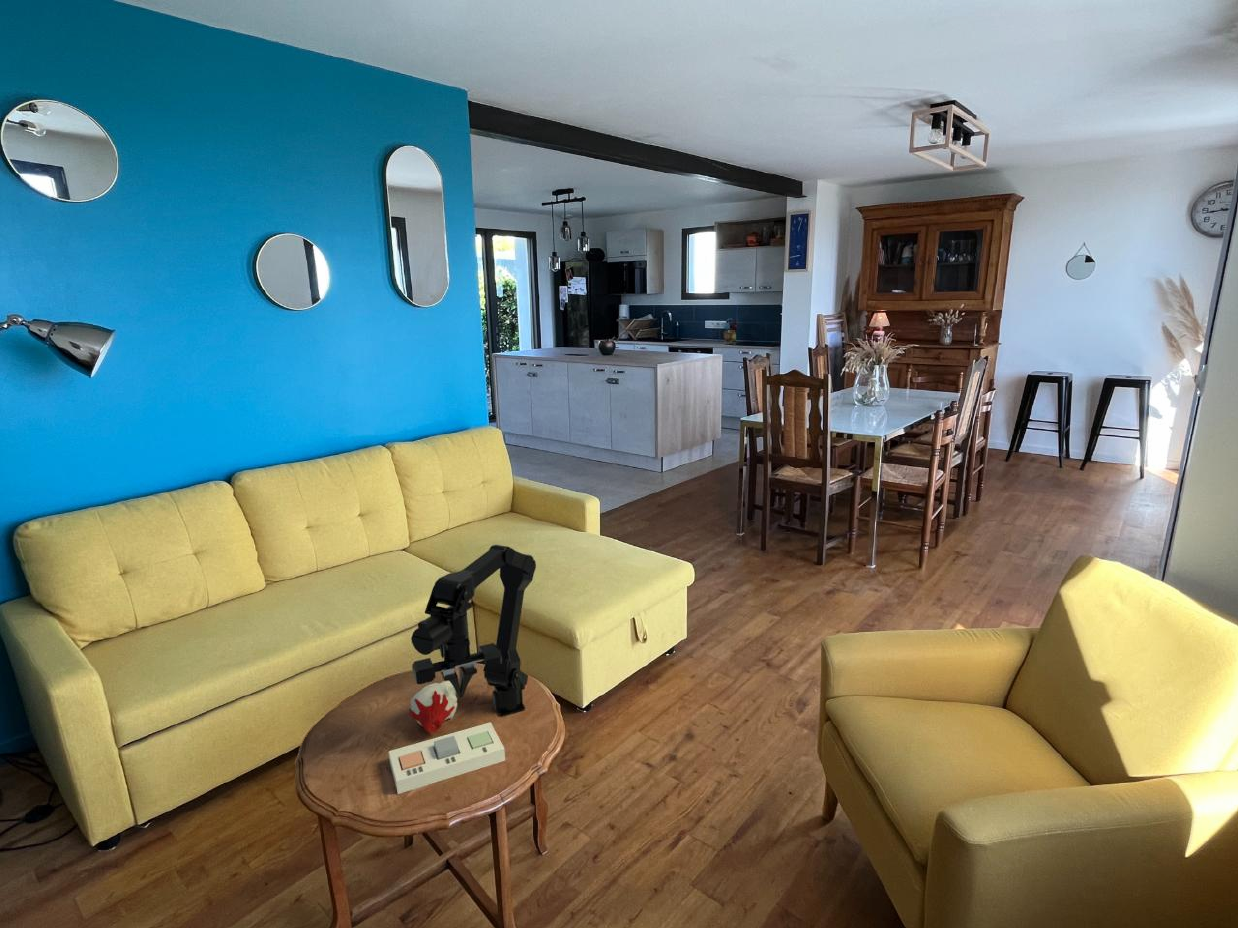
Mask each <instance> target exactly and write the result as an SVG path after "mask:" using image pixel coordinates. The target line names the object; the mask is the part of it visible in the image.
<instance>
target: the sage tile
mask: <svg viewBox="0 0 1238 928" xmlns="http://www.w3.org/2000/svg"><path fill="white" fill-rule="evenodd" d="M468 742H469V744H470V747H471V749H472V750H473V749H476V748H479V747H483V746H486V745H489V744H492V740H491V738H490V736H489V734H488V732H487V731H485V732H482V733H478V734H475V735H471V736H468Z"/></svg>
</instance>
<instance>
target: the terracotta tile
mask: <svg viewBox="0 0 1238 928" xmlns="http://www.w3.org/2000/svg"><path fill="white" fill-rule="evenodd" d="M399 758H400V766H401V769H402V771H403V770H406V769H409V768H413V767H416V766H419V765H423V764H424V761H423V758H422V755H421V752H420V751H416V752H413V753H409V754H406V755H403V756H399Z"/></svg>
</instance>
